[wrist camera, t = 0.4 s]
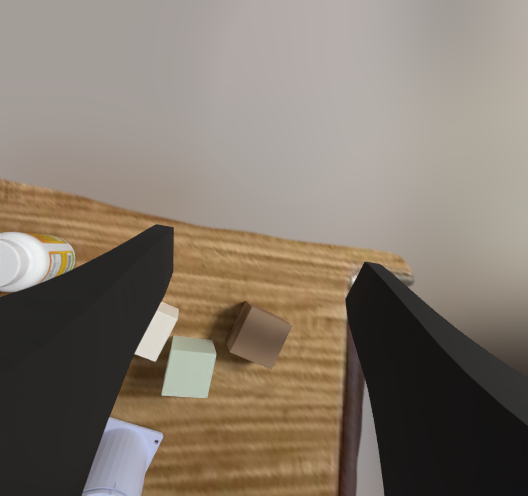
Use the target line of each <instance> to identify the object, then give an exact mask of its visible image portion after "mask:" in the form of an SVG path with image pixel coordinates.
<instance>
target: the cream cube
mask: <svg viewBox="0 0 528 496" xmlns="http://www.w3.org/2000/svg"><path fill="white" fill-rule="evenodd" d="M178 311H179V309H177V308H175V307H172V306H170V305H168V304H165V303H163V302H161V303H160V305H159V307H158V309H157V311H156V313H155V315H154V317H153V319H152V321H151V323H150V325H149V327H148V328H147V330H146V332H145V334H144V336H143V338H142V340H141V342H140V344H139V346H138V348H137V350H136V352H135V354H136V355H139V356H141V357H144V358H147V359H150V360H152V361H155V362H156V360H157V358H158V356H159V354H160V352H161V350H162V348H163V346H164V344H165V342H166V340H167V339H168V337H169V335H170V333H171V331H172V329H173V327H174V325H175V323H176V321H177V319H178Z"/></svg>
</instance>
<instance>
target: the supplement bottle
mask: <svg viewBox="0 0 528 496" xmlns="http://www.w3.org/2000/svg"><path fill="white" fill-rule="evenodd" d="M74 264H75V253H74V251H73V249H72V247H71V246H70V244H69V243H67V242H66V241H65V240H63V239H61V238H59V237H57V236H52V235H44V234H32V233H21V232H5V233H0V291H2V292H17V291H20V290H23V289H25V288H28V287H31V286H34V285H37V284H39V283H42V282H44V281H47V280H49V279H51V278H54V277H56V276H59V275H61V274H64V273H66V272H68V271H70V270H72V268H73V266H74Z"/></svg>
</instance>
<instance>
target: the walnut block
mask: <svg viewBox="0 0 528 496" xmlns="http://www.w3.org/2000/svg"><path fill="white" fill-rule="evenodd" d="M291 327H292V325H290V324H289V323H288V322H286V321H285V320H284V319H282V318H280V317H278V316H276V315H274V314H272V313H270V312H268V311H266V310H264V309H262V308H259V307H257V306H255V305H253V304H251V303H249V302H247V301H245V303H244V305H243V307H242V309H241V311H240V313H239V315H238V317H237V319H236V321H235V323H234V325H233V327H232V329H231V331H230V333H229V335H228V337H227V339H226V341H225V342H226V344H227V347H228V349H229V351H230V352H231V353H233V354H236V355H238V356H240V357H243V358H245V359H247V360H250V361H252V362H255V363H257V364H259V365H262V366H264V367H267V368H269V369H271V370H272V368H273V366H274V363H275V361H276V359H277V357H278V355H279V353H280V351H281V349H282V346H283V344H284V342H285V340H286V338H287V336H288V334H289V332H290V329H291Z"/></svg>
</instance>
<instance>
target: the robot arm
mask: <svg viewBox="0 0 528 496" xmlns="http://www.w3.org/2000/svg"><path fill="white" fill-rule="evenodd" d="M173 245H174V227H169V226H163V225H157V224H156V225H154V226H152V227H150V228H149V229H147V230H145V231H144V232H142V233H140V234H138V235H137V236H135V237H133V238H132V239H130V240H128V241H126V242H125V243H123V244H121V245H119V246H118V247H116V248H114V249H112V250H111V251H109V252H107V253H105V254H103V255H101V256H99V257H97V258H95V259H93V260H91V261H89V262H87V263H85V264H83V265H81V266H79V267H77V268H75V269H73V270H70V271H68V272H66V273H64V274H61V275H59V276H56V277H54V278H51V279H49V280H47V281H44V282H42V283H39V284H37V285H34V286H31V287H28V288H25V289H23V290H20V291H17V292H14V293H11V294H8V295H5V296H3V297H0V496H141V493H142V488H143V482H144V477H145V472H146V470H147V468H148V466H149V464H150V462H151V460H152V458H153V456H154V454H155V452H156V450H157V448H158V446H159V444H160V442H161V440H162V438H163V434H162V433H161V432H158V431H154V430H151V429H148V428H144V427H141V426H138V425H134V424H131V423H128V422H124V421H121V420H118V419H114V418H111V417H110V414H111V412H112V409H113V406H114V404H115V401H116V398H117V396H118V393H119V391H120V388H121V385H122V383H123V380H124V378H125V375H126V373H127V370H128V368H129V365H130V363H131V360H132V358H133V356H134V354H135V352H136V350H137V348H138V346H139V344H140V342H141V340H142V338H143V336H144V334H145V332H146V330H147V328H148V327H149V325H150V323H151V321H152V319H153V317H154V315H155V313H156V311H157V309H158V307H159V305H160V303H161V301H162V299H163V297H164V295H165V293H166V290H167V288H168V285H169V282H170V279H171V276H172V273H173ZM345 301H346V309H347V316H348V322H349V326H350V330H351V333H352V337H353V340H354V343H355V347H356V350H357V353H358V357H359V360H360V363H361V367H362V370H363V373H364V377H365V380H366V384H367V388H368V392H369V397H370V402H371V408H372V413H373V417H374V424H375V430H376V435H377V442H378V448H379V455H380V463H381V471H382V478H383V486H384V495H385V496H528V378H527V377H526V376H524V375H523V374H521V373H520V372H518V371H517V370H515V369H513V368H512V367H510V366H509V365H507V364H506V363H504V362H503V361H501V360H500V359H498V358H497V357H495V356H494V355H492V354H491V353H489V352H488V351H486V350H485V349H484V348H482V347H481V346H480V345H478V344H477V343H475V342H474V341H473V340H471V339H470V338H468V337H467V336H466V335H464V334H463V333H462V332H460V331H459V330H458V329H457V328H455V327H454V326H453V325H452V324H450V323H449V322H448V321H447V320H445V319H444V318H443V317H442V316H440V315H439V314H438V313H437V312H435V311H434V310H433V309H432V308H431V307H429V305H427V304H426V303H425V302H424V301H423V300H421V299H420V298H419V297H418V296H417V295H416V294H415V293H414V292H413V291H411V290H410V289H409V288H408V287H407V286H406V285H405V284H404V283H402V282H401V281H400V280H399V279H398V278H397V277H396V276H394V275H393V274H392V273H391V272H390V271H388V270H387V269H386V268H385V267H383V266H382V265H380V264H376V263H371V262H364V264H363V266H362V268H361V270H360V272H359V274H358V276H357V278H356V280H355V282H354V284H353V285H352V287H351V289H350V291H349V293H348V295H347V297H346V299H345ZM155 440H158V442H155Z"/></svg>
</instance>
